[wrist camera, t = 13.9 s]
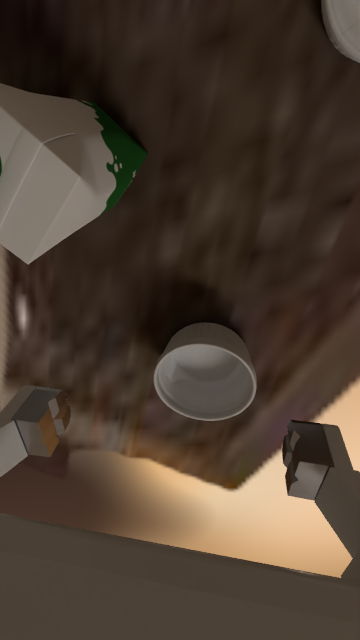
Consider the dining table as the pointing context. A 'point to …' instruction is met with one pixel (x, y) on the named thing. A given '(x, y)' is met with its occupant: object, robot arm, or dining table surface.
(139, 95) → the dining table surface
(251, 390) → the ramekin
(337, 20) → the ramekin
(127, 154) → the milk carton
